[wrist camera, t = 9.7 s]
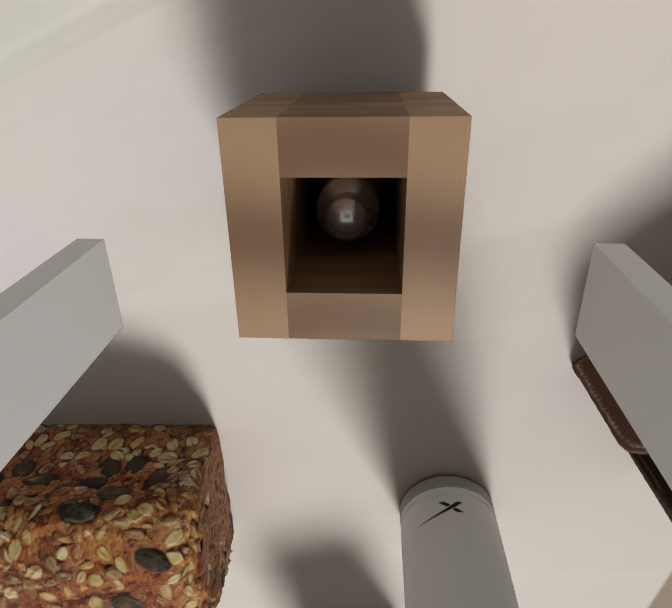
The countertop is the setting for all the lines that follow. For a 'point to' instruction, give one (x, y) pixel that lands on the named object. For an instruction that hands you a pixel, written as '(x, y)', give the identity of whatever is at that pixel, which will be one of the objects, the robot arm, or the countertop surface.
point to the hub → (351, 205)
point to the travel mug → (453, 547)
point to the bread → (115, 518)
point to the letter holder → (623, 431)
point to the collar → (330, 253)
